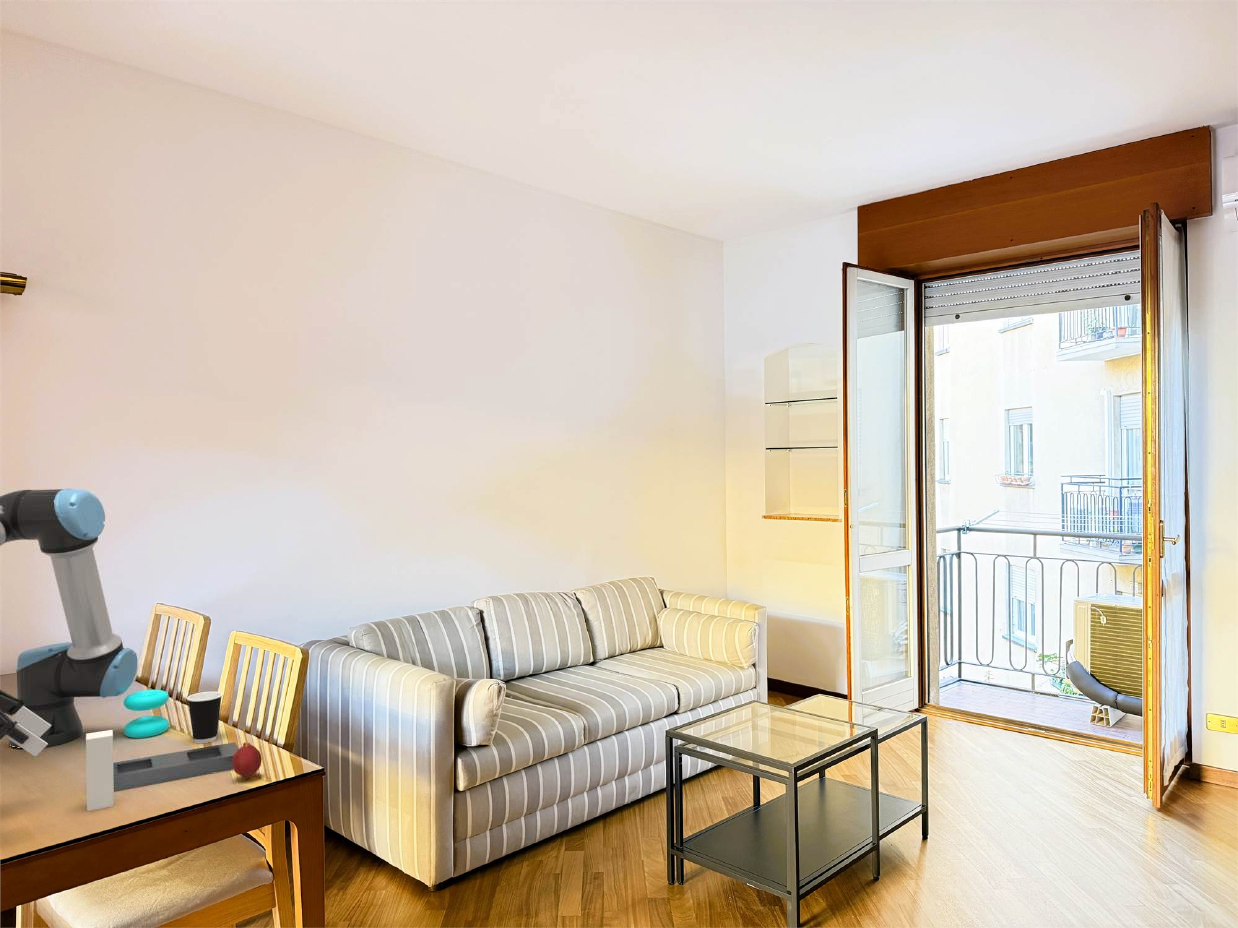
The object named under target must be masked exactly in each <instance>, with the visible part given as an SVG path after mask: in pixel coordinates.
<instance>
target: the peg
mask: <svg viewBox="0 0 1238 928" xmlns="http://www.w3.org/2000/svg"><path fill="white" fill-rule="evenodd" d="M113 731H114V730H113V729H110V730H109V729H108V730H103V731H97V732H89V733H86V734H85V747H86V748H85V753H86V756H85V757H86V759H85V760H86V763H85V764H86V812H90V811H97V810H101V809H107V808H111V807H114V806H115V805H114V804H115V799H114V797H115V796H114V795H115V794H114V793H115V791H114V782H113V763H114V733H113Z"/></svg>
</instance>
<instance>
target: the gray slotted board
mask: <svg viewBox="0 0 1238 928" xmlns="http://www.w3.org/2000/svg"><path fill="white" fill-rule="evenodd" d="M238 749H240V747H239V746H238V744H237V743H236V741H234V742H233V741H232V742H227V743H222V744H217V745H211V746H210V745H209V746H206V747H205V746H203V747H197V748H193V749H186V750H181V751H175V752H168V753H163V754H157V755H151V756H145V757H140V758H134V759H128V760H122V761H115V762H113V782H114V792H116V791H117V792H118V791H123V790H130V789H134V788H140V787H145V786H146V787H147V786H151V785H157V784H161V783H167V782H171V781H177V780H183V779H188V777H189V778H194V777H199V776H198V775H200V776H205V775H209V774H214V773H213V772H216V773H221V772H226V771H231V769H232V770H234V769H233V766H232V760H233V757H234V755H235V753H236V752H237V751H238ZM220 771H221V772H220Z"/></svg>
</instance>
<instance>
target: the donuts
mask: <svg viewBox="0 0 1238 928" xmlns="http://www.w3.org/2000/svg"><path fill="white" fill-rule="evenodd" d="M169 698H170V696H169V693H168V692H167V691H165V690H161V689H149V690H148V689H145V690H142V691H141V690H140V691H137V692H134V693H130V694H128V695H127V696H126V697H125V698H124V699H123V706H124V707H125V708H126V709H128V710H129V711H135V712H144V711H145V712H146V711H151V710H155V709H158V708H161V707H163V706H164V705H166V704H167V703H168V701H169ZM169 727H170V722H169V719H167V718H165V717H164V716H160V715H147V716H142V717H137V718H135V719H132V720H131V721H129V722H128V723H127V724H126V725H125V726H124V729H123V733H124V734H125V736H127V737H128V738H134V739H142V738H150V737H155V736H158V735H160V734H163V733H164V732H166V731H167V730H168V728H169Z"/></svg>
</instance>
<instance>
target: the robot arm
mask: <svg viewBox="0 0 1238 928" xmlns="http://www.w3.org/2000/svg"><path fill="white" fill-rule="evenodd" d="M105 521H106V513H105V509H104V507H103V504H102V502H101V501H100V498H98V497H97V496H96V495H95V494H93V493H91V492H90V491H88V490H85V489H75V488H64V489H63V488H62V489H61V488H59V489H58V488H56V489H55V488H54V489H20V490H15V491H11V492H8V493H5V494H2V495H0V547H1V546H2V545H4V544H6V543H9V542H15V541H21V540H22V541H23V540H24V541H25V540H27V541H32V540H33V541H38V545H39V549H40V553H42V554H44V555H46V556H48V557H50V560H51V565H52V568H53V572H54V576H55V580H56V586H57V588H58V592H59V596H60V599H61V600H60V601H61V605H62V608H63V612H64V616H65V619H66V620H65V621H66V624H67V627H68V628H67V629H68V632H69V636H70V639H71V642H59V643H58V642H57V643H54V644H49V645H48V644H47V645H44V646H38V647H35V648H30V649H28V650H24V651H22V652H21V653H20V654H19V655H18V657H17V665H16V669H15V671H16V683H17V684H16V688H17V689H16V692H17V693H16V695H17V696H16V697H15V696H13V695H11V694H10V693H8V692H5V691H3V690H2V689H0V741H1V740H2V739H3V738H4V737H5V738H7V739H8V741H9V742H8V745H9V744H10V745H11V746H15V747H20V748H23V749H22V750H24V751H26V752H28V753H29V754H31V756H33V757H37V756H38V755H39V754H40V753H41V752H42V751H43V750H44V749H45V748H46V747H53V746H58V745H61V744H65V743H69V742H71V741H74V740H77V739H78V738H79V737H81V736H82V735H83V724H82V720H81V719H80V716H79V714H78V711H77V709H76V706H75V698H103V699H104V698H108V697H119V696H121V695H123V694H124V693H126V692H127V691H128V690H129V688H130V687H131V685H132V683H134V680H135V678H136V675H137V670H138V656H137V655H138V654H137V653H136V651H135V650H133V649H132V648H130V647H125V648H124V644H123V641H122V637H121V636H120V635H118V634H115V633H113V630H112V623H111V621H110V616H109V612H108V608H107V603H106V599H105V595H104V591H103V585H102V582H101V578H100V577H101V576H100V573H99V569H98V568H99V567H98V564H97V560H96V556H95V553H94V546H95V545H96V544H97V543H98V542H99V536H100V535H101V534H102V533H103V531H104V528H105V523H104V522H105ZM9 716H11V717H9Z"/></svg>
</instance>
